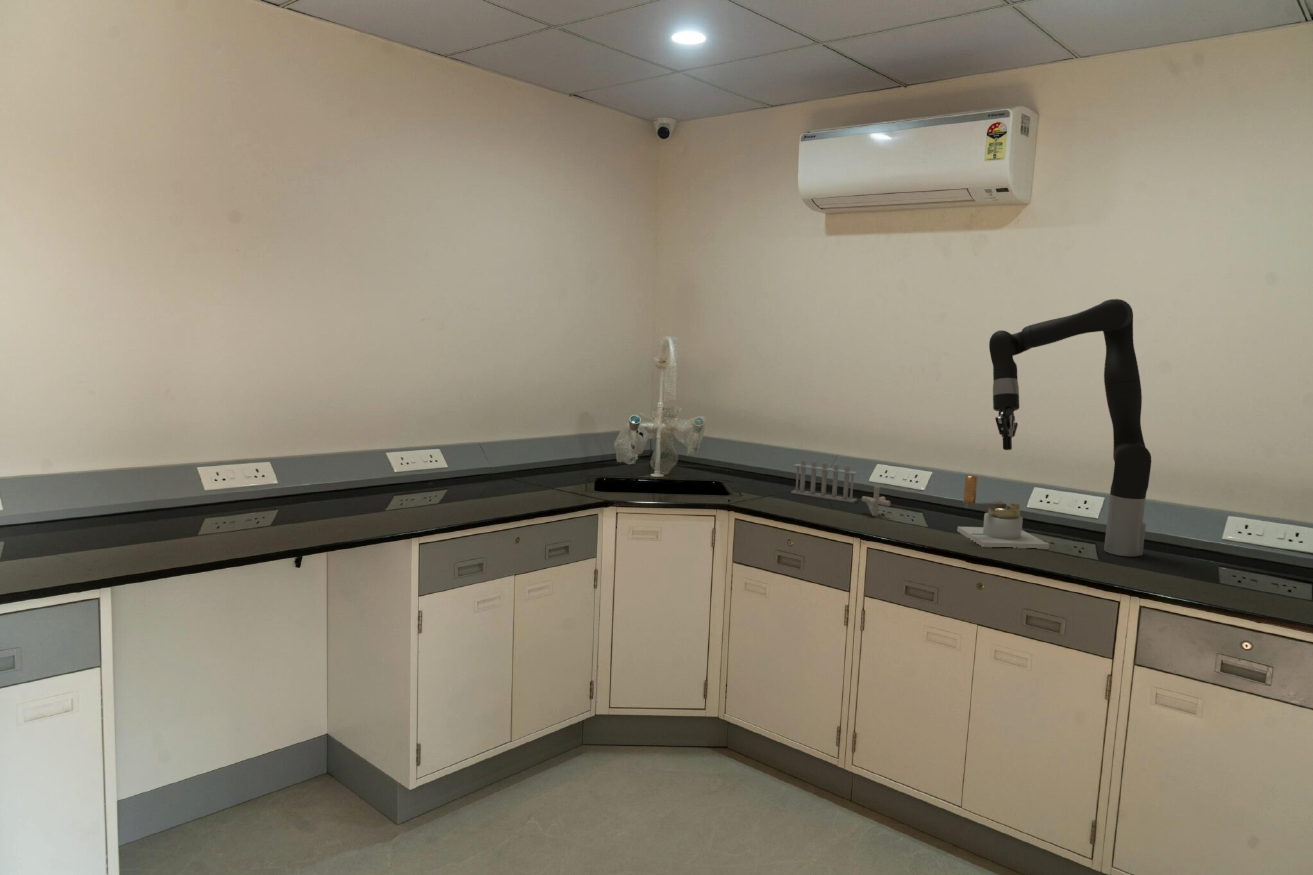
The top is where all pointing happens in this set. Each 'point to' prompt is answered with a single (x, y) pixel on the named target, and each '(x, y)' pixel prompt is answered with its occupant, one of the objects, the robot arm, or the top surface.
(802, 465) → the test tube rack
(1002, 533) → the cylinder on square plate
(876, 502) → the pipe connector
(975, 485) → the lever-handled chuck
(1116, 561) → the top surface
